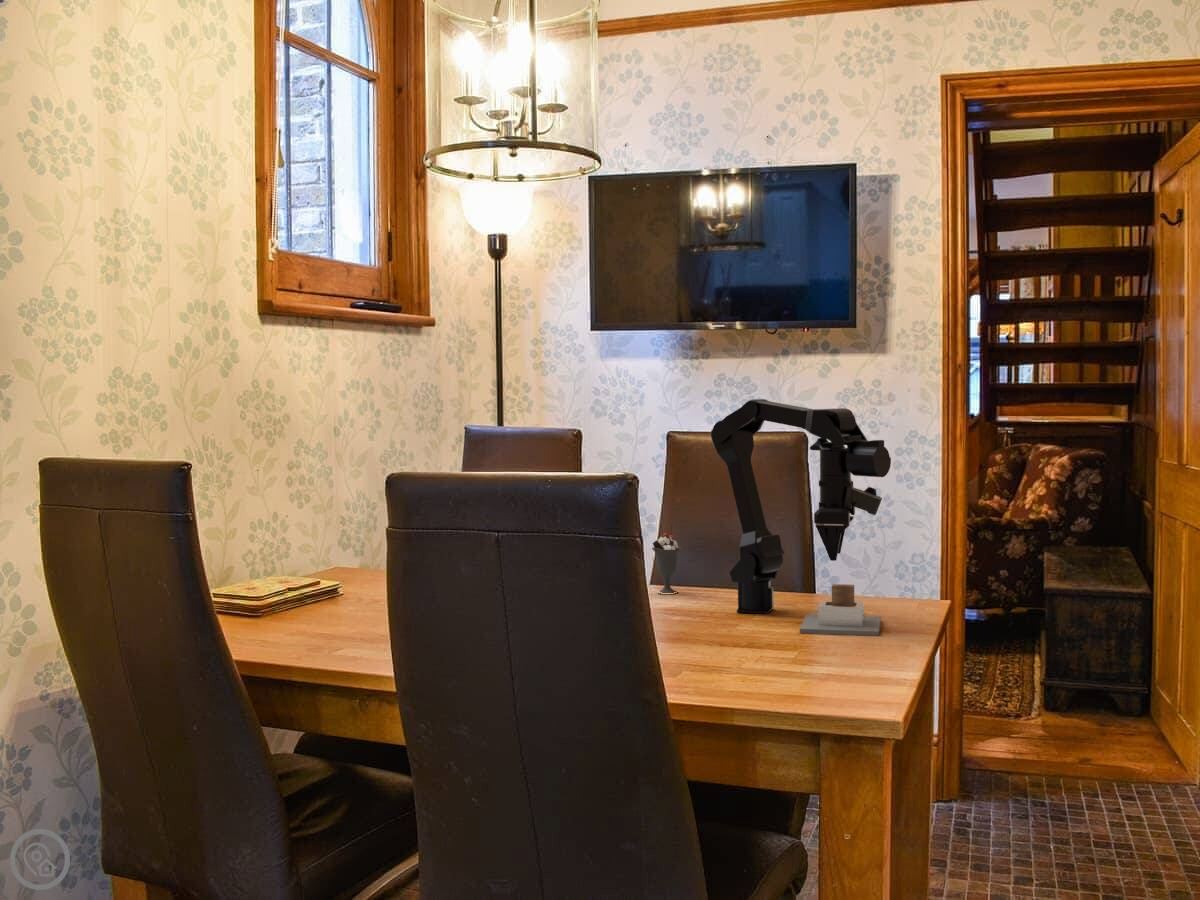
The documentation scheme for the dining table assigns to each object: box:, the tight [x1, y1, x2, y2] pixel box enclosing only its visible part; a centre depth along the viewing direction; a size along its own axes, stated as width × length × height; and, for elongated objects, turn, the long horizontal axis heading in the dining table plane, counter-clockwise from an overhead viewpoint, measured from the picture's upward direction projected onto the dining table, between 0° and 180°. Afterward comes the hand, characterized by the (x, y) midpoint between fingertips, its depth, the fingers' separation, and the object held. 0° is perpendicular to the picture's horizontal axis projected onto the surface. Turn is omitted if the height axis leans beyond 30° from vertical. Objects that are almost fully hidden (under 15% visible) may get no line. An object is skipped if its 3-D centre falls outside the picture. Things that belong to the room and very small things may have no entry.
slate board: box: [799, 613, 882, 637], centre depth 206 cm, size 14×14×1 cm
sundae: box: [651, 525, 682, 593], centre depth 246 cm, size 7×7×15 cm
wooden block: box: [831, 583, 855, 606], centre depth 206 cm, size 4×2×7 cm, turn 74°
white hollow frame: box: [817, 600, 865, 626], centre depth 206 cm, size 8×6×4 cm
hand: (835, 556), depth 209 cm, fingers open, 9 cm apart
